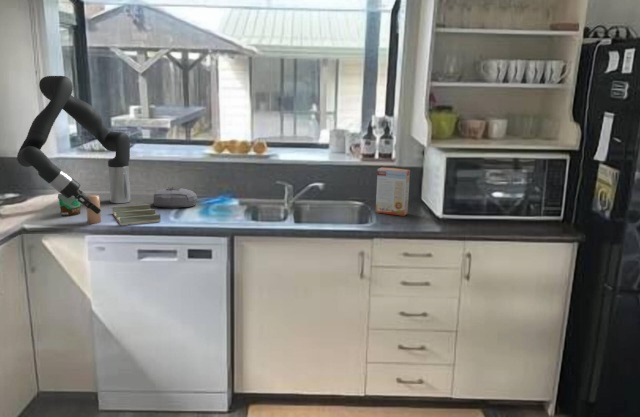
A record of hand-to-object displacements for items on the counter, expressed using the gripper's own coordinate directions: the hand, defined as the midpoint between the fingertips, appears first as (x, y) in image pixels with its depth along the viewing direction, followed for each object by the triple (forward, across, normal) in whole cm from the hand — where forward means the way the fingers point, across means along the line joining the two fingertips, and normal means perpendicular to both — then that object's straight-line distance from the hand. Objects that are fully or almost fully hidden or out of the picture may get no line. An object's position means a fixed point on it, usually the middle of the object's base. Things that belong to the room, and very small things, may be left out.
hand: (98, 210), depth 235 cm
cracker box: (+91, -34, -84) cm, 128 cm away
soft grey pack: (+30, +18, -22) cm, 42 cm away
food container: (-2, +17, +9) cm, 19 cm away
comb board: (+14, +1, -7) cm, 16 cm away
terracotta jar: (+2, 0, +5) cm, 5 cm away
